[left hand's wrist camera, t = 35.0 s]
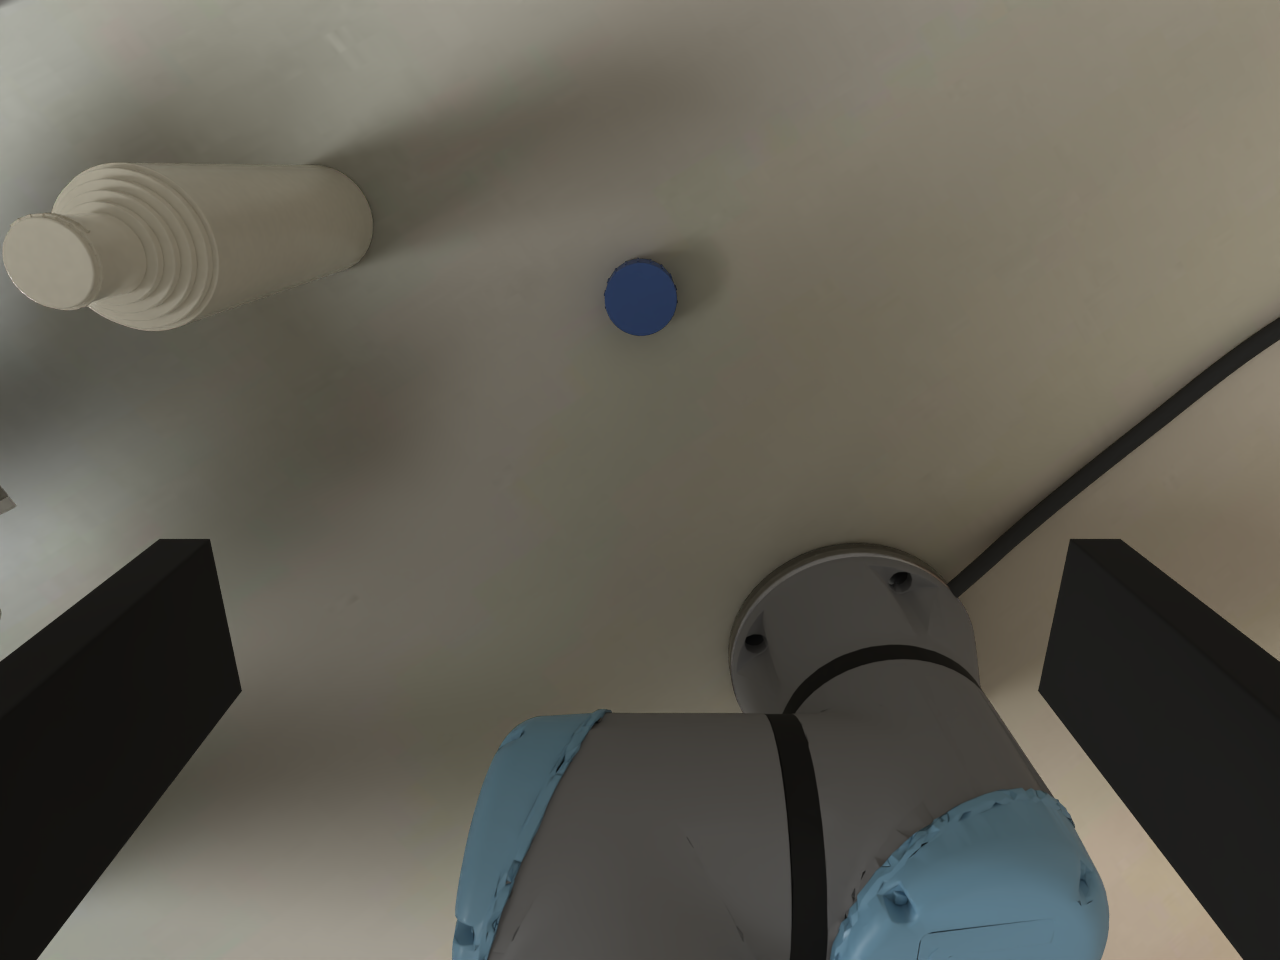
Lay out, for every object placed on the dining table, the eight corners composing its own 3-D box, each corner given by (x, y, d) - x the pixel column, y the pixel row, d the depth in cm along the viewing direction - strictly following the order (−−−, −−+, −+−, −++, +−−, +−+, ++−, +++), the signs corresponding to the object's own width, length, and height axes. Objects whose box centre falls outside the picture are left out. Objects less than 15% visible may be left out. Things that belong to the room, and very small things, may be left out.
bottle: (394, 236, 43) (185, 293, 23) (316, 292, 44) (53, 392, 24) (327, 143, 42) (41, 119, 22) (247, 203, 43) (-94, 234, 23)
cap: (689, 303, 45) (692, 309, 43) (631, 343, 45) (631, 350, 43) (650, 243, 43) (651, 246, 42) (591, 284, 44) (589, 290, 42)
